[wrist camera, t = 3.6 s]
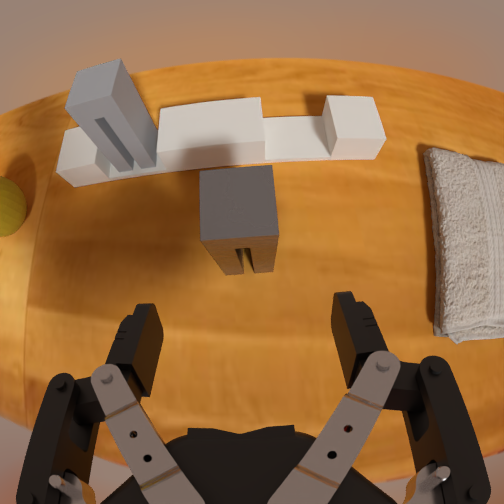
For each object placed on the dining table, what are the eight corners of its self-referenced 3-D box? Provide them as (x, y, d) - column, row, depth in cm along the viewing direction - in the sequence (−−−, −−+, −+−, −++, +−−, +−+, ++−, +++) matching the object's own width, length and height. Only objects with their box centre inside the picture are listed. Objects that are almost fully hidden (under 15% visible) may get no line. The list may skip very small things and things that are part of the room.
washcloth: (428, 345, 23) (446, 346, 20) (416, 152, 27) (428, 136, 24) (518, 336, 22) (537, 335, 19) (501, 171, 26) (516, 159, 23)
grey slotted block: (273, 271, 24) (278, 234, 15) (225, 275, 24) (200, 240, 15) (269, 226, 25) (272, 164, 15) (223, 229, 25) (199, 171, 15)
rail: (363, 119, 27) (395, 40, 17) (374, 159, 26) (417, 83, 16) (81, 148, 28) (27, 87, 18) (74, 187, 27) (10, 132, 17)
